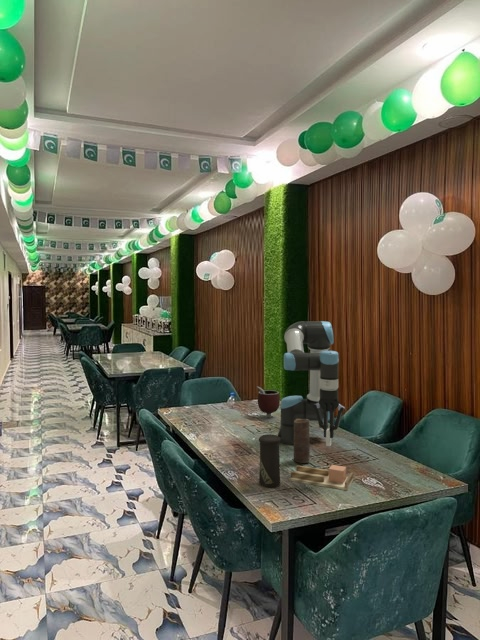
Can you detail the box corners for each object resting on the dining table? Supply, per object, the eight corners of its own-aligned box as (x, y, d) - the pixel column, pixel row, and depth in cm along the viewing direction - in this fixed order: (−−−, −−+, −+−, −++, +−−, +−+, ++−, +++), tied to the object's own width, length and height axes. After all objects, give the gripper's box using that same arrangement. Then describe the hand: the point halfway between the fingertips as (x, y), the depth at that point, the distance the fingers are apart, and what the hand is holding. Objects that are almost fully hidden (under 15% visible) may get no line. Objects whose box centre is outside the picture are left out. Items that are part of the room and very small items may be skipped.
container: (257, 480, 192) (257, 433, 191) (278, 479, 193) (278, 432, 192) (260, 489, 184) (260, 439, 183) (282, 488, 184) (282, 438, 183)
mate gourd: (283, 418, 293) (283, 386, 292) (273, 423, 282) (273, 390, 281) (262, 414, 302) (262, 384, 301) (251, 419, 290) (251, 388, 289)
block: (328, 480, 189) (328, 468, 188) (331, 476, 193) (331, 464, 193) (343, 483, 186) (343, 471, 186) (346, 478, 191) (346, 466, 190)
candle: (305, 466, 209) (305, 422, 208) (290, 463, 212) (290, 420, 212) (312, 461, 215) (312, 418, 214) (297, 458, 219) (297, 416, 218)
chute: (289, 480, 192) (289, 473, 192) (298, 470, 203) (298, 464, 203) (347, 490, 182) (347, 482, 182) (353, 479, 193) (353, 472, 193)
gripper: (311, 389, 189) (310, 445, 190) (342, 391, 183) (342, 450, 185) (316, 385, 196) (315, 440, 197) (346, 388, 190) (346, 444, 191)
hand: (328, 445), depth 191 cm, fingers closed
